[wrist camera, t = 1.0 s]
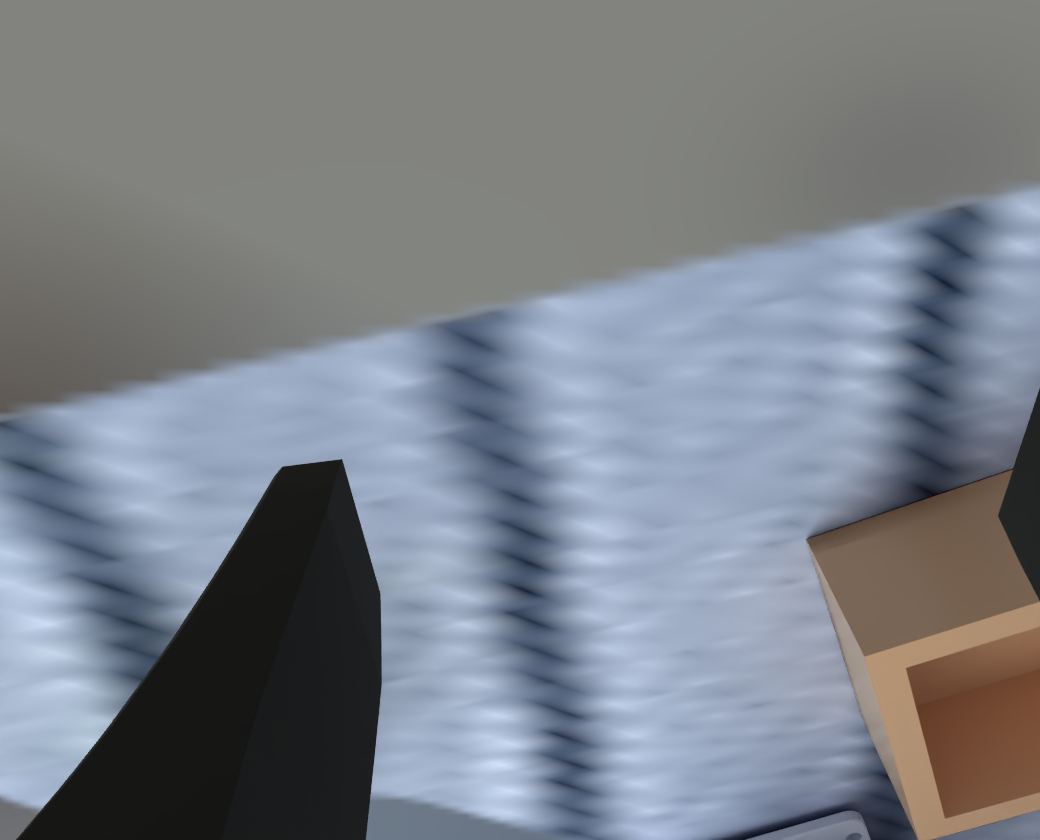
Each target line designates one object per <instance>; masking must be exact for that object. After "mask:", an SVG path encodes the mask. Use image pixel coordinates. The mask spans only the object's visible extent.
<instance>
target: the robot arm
mask: <svg viewBox="0 0 1040 840" xmlns="http://www.w3.org/2000/svg"><path fill="white" fill-rule="evenodd" d="M998 517H999V519H1000V522H1001V524H1002V526H1003V528H1004V530H1005V532H1006V534H1007V537H1008V539H1009V541H1010V543H1011V545H1012V547H1013V549H1014V552H1015V554H1016V556H1017V558H1018V560H1019V562H1020V564H1021V566H1022V568H1023V570H1024V572H1025V574H1026V576H1027V578H1028V580H1029V582H1030V583H1031V585H1032V587H1033V589H1034V591H1035V593H1036V595H1037V597H1038V599H1039V601H1040V389H1039V392H1038V395H1037V398H1036V401H1035V404H1034V408H1033V411H1032V414H1031V417H1030V420H1029V423H1028V426H1027V429H1026V432H1025V435H1024V438H1023V441H1022V444H1021V447H1020V450H1019V453H1018V456H1017V459H1016V462H1015V465H1014V468H1013V471H1012V474H1011V477H1010V480H1009V483H1008V486H1007V489H1006V492H1005V495H1004V498H1003V502H1002V505H1001V508H1000V511H999V514H998ZM381 684H382V675H381V601H380V591H379V587H378V584H377V580H376V577H375V573H374V570H373V566H372V563H371V559H370V556H369V552H368V549H367V545H366V542H365V538H364V535H363V531H362V528H361V524H360V521H359V517H358V514H357V510H356V507H355V503H354V500H353V496H352V493H351V489H350V486H349V482H348V479H347V475H346V472H345V468H344V465H343V461H342V459H341V460H333V461H325V462H317V463H309V464H301V465H293V466H285V467H282V468H281V469H280V470H279V472H278V473H277V474H276V475H275V476H274V478H273V480H272V481H271V483H270V485H269V486H268V488H267V490H266V491H265V493H264V495H263V496H262V498H261V500H260V501H259V503H258V505H257V506H256V508H255V510H254V511H253V513H252V515H251V517H250V518H249V520H248V522H247V523H246V525H245V527H244V528H243V530H242V531H241V533H240V535H239V536H238V538H237V540H236V541H235V543H234V545H233V546H232V548H231V549H230V551H229V553H228V554H227V556H226V557H225V559H224V561H223V562H222V564H221V565H220V567H219V569H218V570H217V572H216V573H215V575H214V577H213V578H212V580H211V581H210V583H209V584H208V586H207V587H206V589H205V590H204V592H203V593H202V595H201V596H200V598H199V599H198V601H197V602H196V604H195V605H194V607H193V608H192V610H191V611H190V613H189V614H188V616H187V617H186V619H185V621H184V622H183V624H182V625H181V627H180V628H179V630H178V631H177V633H176V634H175V636H174V637H173V639H172V640H171V641H170V643H169V644H168V646H167V647H166V649H165V650H164V652H163V653H162V654H161V656H160V657H159V659H158V660H157V661H156V663H155V664H154V665H153V667H152V668H151V670H150V671H149V672H148V674H147V675H146V676H145V678H144V679H143V680H142V682H141V683H140V685H139V686H138V687H137V689H136V690H135V691H134V693H133V694H132V695H131V697H130V698H129V700H128V701H127V702H126V704H125V705H124V706H123V708H122V709H121V710H120V712H119V713H118V715H117V716H116V717H115V719H114V720H113V721H112V723H111V724H110V726H109V727H108V728H107V729H106V731H105V732H104V733H103V735H102V736H101V737H100V738H99V740H98V741H97V742H96V744H95V745H94V746H93V747H92V749H91V750H90V751H89V752H88V754H87V755H86V756H85V757H84V759H83V760H82V761H81V763H80V764H79V765H78V766H77V768H76V769H75V770H74V771H73V773H72V774H71V775H70V776H69V777H68V779H67V780H66V781H65V782H64V784H63V785H62V786H61V787H60V788H59V790H58V791H57V792H56V793H55V794H54V796H53V797H52V798H51V799H50V800H49V802H48V803H47V804H46V805H45V806H44V807H43V809H42V810H41V811H40V812H39V813H38V814H37V816H36V817H35V818H34V819H33V820H32V822H31V823H30V824H29V825H28V826H27V827H26V829H25V830H24V831H23V832H22V833H21V835H20V836H19V837H18V838H17V839H16V840H366V832H367V823H368V813H369V804H370V794H371V784H372V775H373V765H374V756H375V746H376V736H377V726H378V716H379V706H380V695H381ZM746 840H871V839H870V836H869V834H868V831H867V828H866V825H865V822H864V820H863V818H862V816H861V814H860V813H858V812H856V811H844V812H840V813H837V814H833V815H830V816H826V817H823V818H819V819H816V820H812V821H809V822H805V823H802V824H798V825H795V826H791V827H788V828H784V829H781V830H777V831H774V832H770V833H767V834H763V835H760V836H757V837H753V838H750V839H746Z"/></svg>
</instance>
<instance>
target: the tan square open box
mask: <svg viewBox="0 0 1040 840" xmlns="http://www.w3.org/2000/svg"><path fill="white" fill-rule="evenodd" d="M1012 471H1013V470H1010V471H1007V472H1004V473H1001V474H998V475H995V476H992V477H989V478H986V479H983V480H980V481H977V482H974V483H972V484H969V485H966V486H963V487H960V488H957V489H954V490H951V491H948V492H945V493H942V494H939V495H936V496H933V497H930V498H927V499H924V500H921V501H918V502H916V503H913V504H910V505H907V506H904V507H901V508H898V509H895V510H892V511H889V512H886V513H883V514H880V515H877V516H874V517H871V518H868V519H865V520H862V521H860V522H857V523H854V524H851V525H848V526H845V527H842V528H839V529H836V530H833V531H830V532H827V533H824V534H821V535H818V536H815V537H812V538H809V539H806V541H807V544H808V547H809V550H810V553H811V556H812V560H813V563H814V566H815V569H816V572H817V575H818V579H819V582H820V585H821V588H822V591H823V594H824V598H825V601H826V604H827V607H828V610H829V613H830V617H831V620H832V623H833V626H834V629H835V632H836V636H837V639H838V642H839V645H840V648H841V651H842V655H843V658H844V661H845V664H846V667H847V670H848V674H849V677H850V680H851V683H852V686H853V689H854V693H855V696H856V699H857V702H858V705H859V708H860V712H861V715H862V718H863V721H864V723H865V725H866V728H867V730H868V732H869V734H870V736H871V738H872V741H873V743H874V745H875V747H876V749H877V752H878V754H879V756H880V758H881V760H882V762H883V765H884V767H885V769H886V771H887V773H888V776H889V778H890V780H891V782H892V784H893V786H894V789H895V791H896V793H897V795H898V797H899V799H900V802H901V804H902V806H903V808H904V810H905V813H906V815H907V817H908V819H909V821H910V823H911V826H912V828H913V830H914V832H915V834H916V837H917V839H918V840H932V839H936V838H939V837H943V836H947V835H950V834H954V833H958V832H961V831H965V830H968V829H972V828H976V827H979V826H983V825H986V824H990V823H994V822H997V821H1001V820H1005V819H1008V818H1012V817H1015V816H1019V815H1023V814H1026V813H1030V812H1033V811H1037V810H1040V601H1039V599H1038V597H1037V595H1036V593H1035V591H1034V589H1033V587H1032V585H1031V583H1030V582H1029V580H1028V578H1027V576H1026V574H1025V572H1024V570H1023V568H1022V566H1021V564H1020V562H1019V560H1018V558H1017V556H1016V554H1015V552H1014V549H1013V547H1012V545H1011V543H1010V541H1009V539H1008V537H1007V534H1006V532H1005V530H1004V528H1003V526H1002V524H1001V522H1000V519H999V517H998V514H999V511H1000V508H1001V505H1002V502H1003V498H1004V495H1005V492H1006V489H1007V486H1008V483H1009V480H1010V477H1011V474H1012Z"/></svg>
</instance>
